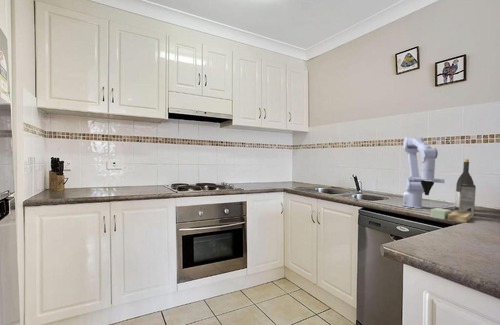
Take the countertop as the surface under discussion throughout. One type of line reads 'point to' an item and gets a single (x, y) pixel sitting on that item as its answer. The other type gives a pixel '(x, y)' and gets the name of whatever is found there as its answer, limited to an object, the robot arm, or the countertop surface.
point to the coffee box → (467, 198)
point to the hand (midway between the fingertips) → (426, 195)
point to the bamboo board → (459, 216)
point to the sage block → (440, 213)
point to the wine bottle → (463, 181)
